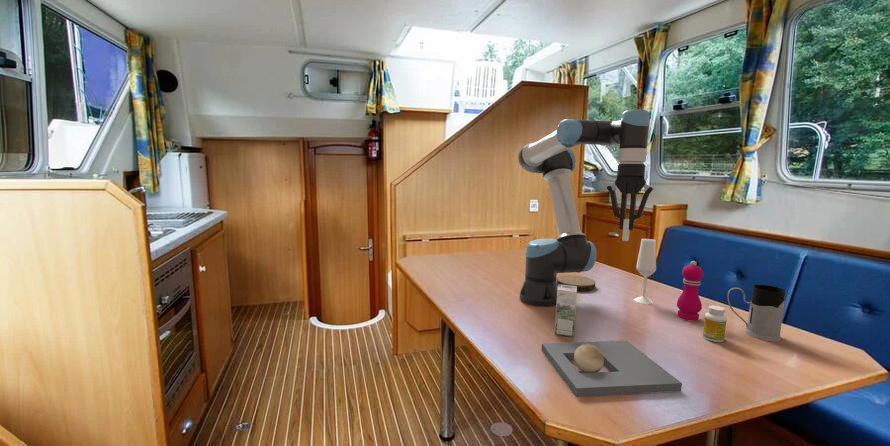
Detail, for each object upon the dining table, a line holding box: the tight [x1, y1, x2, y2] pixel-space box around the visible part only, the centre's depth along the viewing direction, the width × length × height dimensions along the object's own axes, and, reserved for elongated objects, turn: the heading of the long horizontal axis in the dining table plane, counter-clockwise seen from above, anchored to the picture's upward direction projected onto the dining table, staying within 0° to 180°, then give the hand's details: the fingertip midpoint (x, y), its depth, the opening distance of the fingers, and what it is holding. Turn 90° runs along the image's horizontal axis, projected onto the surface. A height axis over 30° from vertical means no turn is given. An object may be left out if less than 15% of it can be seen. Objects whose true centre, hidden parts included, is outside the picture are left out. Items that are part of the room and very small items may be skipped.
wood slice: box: [556, 274, 596, 293], centre depth 166 cm, size 16×16×3 cm
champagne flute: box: [633, 238, 657, 305], centre depth 147 cm, size 7×7×24 cm
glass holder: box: [726, 284, 786, 343], centre depth 119 cm, size 9×14×15 cm, turn 58°
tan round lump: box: [573, 344, 604, 373], centre depth 95 cm, size 7×7×7 cm
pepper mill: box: [676, 260, 704, 322], centre depth 130 cm, size 7×7×20 cm
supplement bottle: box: [702, 305, 727, 343], centre depth 115 cm, size 5×5×10 cm
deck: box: [541, 340, 683, 397], centre depth 97 cm, size 25×22×2 cm
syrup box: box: [554, 285, 578, 338], centre depth 118 cm, size 6×6×14 cm
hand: (625, 240), depth 119 cm, fingers closed
